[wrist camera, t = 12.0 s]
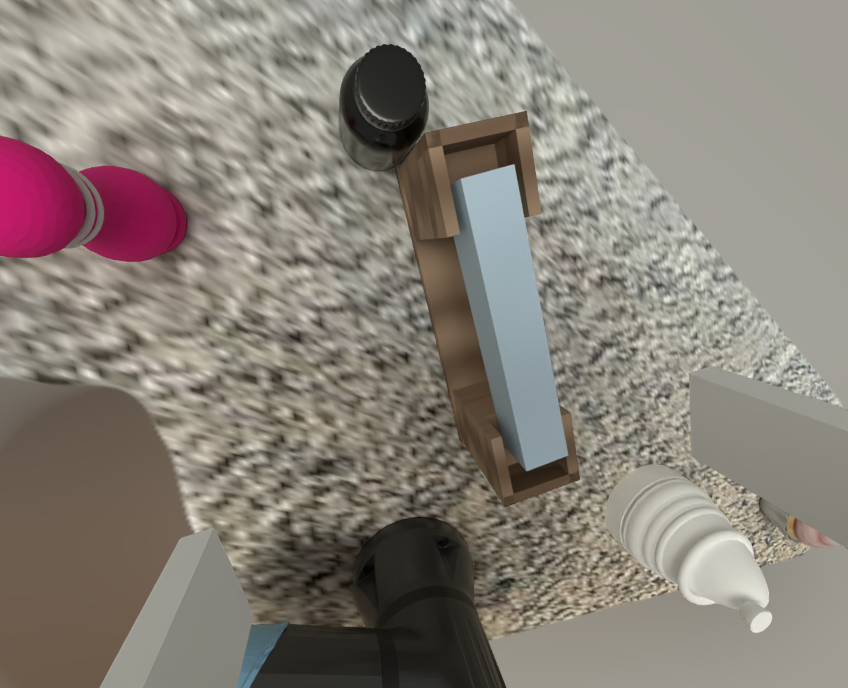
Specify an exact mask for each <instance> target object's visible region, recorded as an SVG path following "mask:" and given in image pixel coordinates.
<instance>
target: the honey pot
mask: <svg viewBox="0 0 848 688" xmlns="http://www.w3.org/2000/svg"><path fill="white" fill-rule="evenodd" d="M604 516H605V523H606V526H607V528H608V530H609V532H610V534H611V535H612V536H613V537H614V538H615V539H616V540H617V541H618V542H619V543H620V544H621V545H622V546H623V547H624V548H625V549H626V550H627V551H628V553H629V554H631V555H632V556H633V558H634V559H635V560H636V561H637V562H638V563H639V564H641V565H642V566H643V567H645V568H648V569H650V570H653V571H654V572H655V573H657V574H659V575H661V576H663V577H664V578H665V579H666V580H668V581H670V582H672V583H675V584H678V587H679V589H680V592H681V594H682V595H683V596H684V597H685V598H686V599H687V600H688V601H690V602H692V603H695V604H698V605H709V604H714V603H719V604H722V605H724V606H727V607H730V608H734V609H738V610H740V615H741V617H742V619H743V621H744V622H745V624H746V625H747V626H748V628H749V629H750V630H751V631H752V632H754V633H758V632H761V631H763V630H764V629H766V628H767V627H768V626H769V624H770V622H771V620H772V615H771V613H770V612H769V611H767V610H766V609H765V607H766V606H767V604H768V602H769V590H768V587H767V583H766V581H765V578H764V576H763V574H762V571H761V569H760V567H759V566H758V564H757V562H756V560H755V559H754V556H753V548H752V545H751V542H750V541H749V540H748V539H747V537H746V536H745V535H744V534H742V533H740V532H738V531H736V530H734V529H733V528H732V526H731V525H730V522H729V520H728V519H727V517H726V516H725V515H724V514H723V513H722V512H721V511H720V510H719V509H718V507H717V506H716V505H715V504H714V503H713V501H712V499H711V498H710V497H709V496H708V494H707V493H706V492H705V491H704V490H702V489H701V488H699V487H697V486H696V485H695V484H693V483H692V482H691V481H689V480H688V479H686V478H685V477H683V476H682V475H680V474H679V473H677V472H676V471H674V470H672V469H671V468H669V467H667V466H664V465H658V464H653V465H645V466H643V467H640V468H637V469H635V470H633V471H632V472H630V473H629V474H627V475H626V476H625V477H624V478H623V479H622V480H621V481H620V482H619V483H618V484H617V485H616V486H615V488H614V489H613V491H612V492H611V494H610V496H609V498H608V501H607V503H606V507H605V514H604ZM691 591H692V592H694V593H696V594H694V593H692V592H691Z"/></svg>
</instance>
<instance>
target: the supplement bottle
mask: <svg viewBox="0 0 848 688" xmlns="http://www.w3.org/2000/svg"><path fill="white" fill-rule="evenodd" d="M425 81H426V80H425V78H424V72H423V71H422V70H421V65H420V64H419V63H418V62H417V59H416V58H415V57H413V56H412V54H411V53H410V52H407V50H406V49H405V48H401V47H399V46H394V45H392V44H389V45H386V44H383V45H382V46H376V48H373V49H371V50H370V51H369V52H368V53H366V54H365V55H364V56H362V57H361V58H359V59H358V60H356V61H355V62H354V63H353V64H352V65H351V66H350V68H349V69H348V71H347V72H346V74H345V76H344V78H343V81H342V84H341V89H340V97H339V131H340V137H341V141H342V144H343V146H344V148H345V150H346V152H347V153H348V155H349V156H350V157H351V158H352V159H353V160H354V161H355V162H356V163H357V164H359V165H360V166H362V167H364V168H367V169H370V170H376V171H381V170H386V169H390V168H392V167H394V166H395V165H397V164H398V163H399V162H401V161H402V159H403V158H404V157H405V156H406V155H407V153H408V152H409V151H410V149H411V148H412V147H413V145H414V144H415V143H416V141H417V140H418V138H419V137H420V136H421V134H422V132H423V130H424V128H425V126H426V123H427V119H428V113H429V100H428V94H427V90H426V85H425Z"/></svg>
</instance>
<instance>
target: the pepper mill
mask: <svg viewBox="0 0 848 688" xmlns="http://www.w3.org/2000/svg"><path fill="white" fill-rule="evenodd" d="M186 229H187V220H186V215H185V212H184V210H183V207H182V206H181V204H180V203H179V201H178V200H177V199H176V198H175V197H174V196H173V195H172V194H171V193H170V192H169V191H167V190H166V189H164V188H162V187H160V186H159V185H158V184H156V183H155V182H154V181H153V180H151V179H150V178H148V177H147V176H145V175H143V174H141V173H139V172H137V171H134V170H131V169H126V168H121V167H116V166H99V167H92V168H88V169H85V170H82V171H80V172H78V171H77V170H75V169H73V168H71V167H69V166H67V165H64V164H61V163H58V162H57V161H56V160H55V159H53V158H52V157H51V156H49V155H48V154H46V153H45V152H43V151H41V150H40V149H38V148H35V147H33V146H31V145H29V144H26V143H24V142H22V141H19V140H15V139H11V138H7V137H3V136H0V256H5V257H14V258H32V257H41V256H46V255H49V254H52V253H55V252H57V251H60V250H61V249H63V248H74V247H78V246H81V245H83V246H84V247H86V248H87V249H89V250H91V251H93V252H95V253H97V254H99V255H101V256H103V257H106V258H109V259H113V260H118V261H127V262H140V261H144V260H149V259H151V258H153V257H156V256H158V255H159V254H164V253H167V252H169V251H171V250H173V249H174V248H176V247H177V246H178V245H179V244H180V243H181V241H182V240H183V238H184V236H185V233H186Z"/></svg>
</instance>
